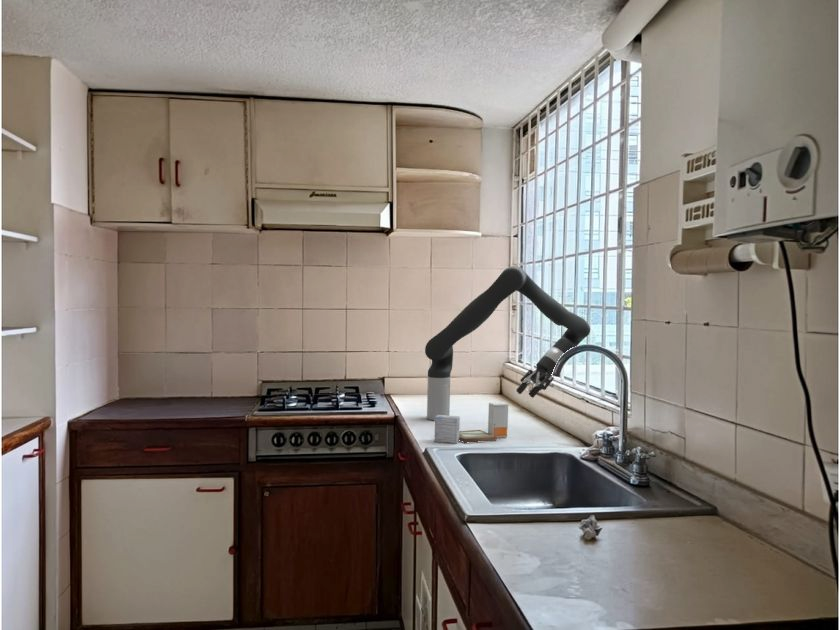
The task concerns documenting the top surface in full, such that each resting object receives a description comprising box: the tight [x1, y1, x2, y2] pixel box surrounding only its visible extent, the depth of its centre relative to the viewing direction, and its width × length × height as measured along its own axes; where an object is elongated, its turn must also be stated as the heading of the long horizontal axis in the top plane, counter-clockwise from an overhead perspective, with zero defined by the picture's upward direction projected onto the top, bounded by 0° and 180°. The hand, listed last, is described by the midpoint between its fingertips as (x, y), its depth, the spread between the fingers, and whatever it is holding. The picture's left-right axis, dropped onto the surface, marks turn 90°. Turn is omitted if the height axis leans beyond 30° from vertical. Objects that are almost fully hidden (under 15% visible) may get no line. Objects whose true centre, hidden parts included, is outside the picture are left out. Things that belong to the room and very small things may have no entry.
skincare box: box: [487, 401, 509, 439], centre depth 219 cm, size 6×4×12 cm
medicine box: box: [433, 414, 461, 444], centre depth 210 cm, size 8×4×9 cm, turn 74°
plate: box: [459, 429, 497, 444], centre depth 215 cm, size 12×12×2 cm
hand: (524, 394), depth 223 cm, fingers open, 8 cm apart
